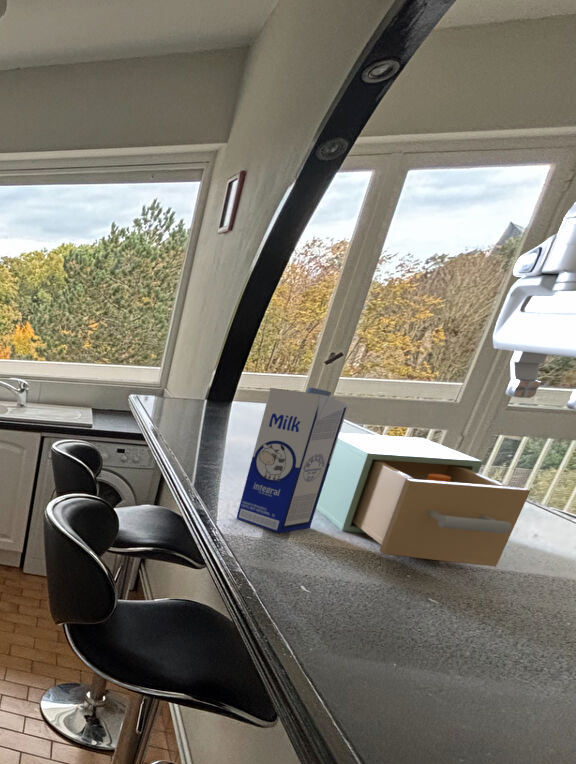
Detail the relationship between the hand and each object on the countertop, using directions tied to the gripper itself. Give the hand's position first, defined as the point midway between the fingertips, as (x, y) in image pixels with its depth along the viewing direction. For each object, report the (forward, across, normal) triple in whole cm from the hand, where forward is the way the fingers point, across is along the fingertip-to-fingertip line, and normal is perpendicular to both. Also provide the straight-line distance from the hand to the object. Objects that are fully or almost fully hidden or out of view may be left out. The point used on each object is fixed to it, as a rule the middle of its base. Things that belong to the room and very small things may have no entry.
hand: (548, 403), depth 60 cm
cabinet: (+22, +27, -1) cm, 34 cm away
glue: (+20, +15, -1) cm, 25 cm away
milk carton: (+22, +19, +14) cm, 32 cm away
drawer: (+21, +13, -1) cm, 24 cm away
